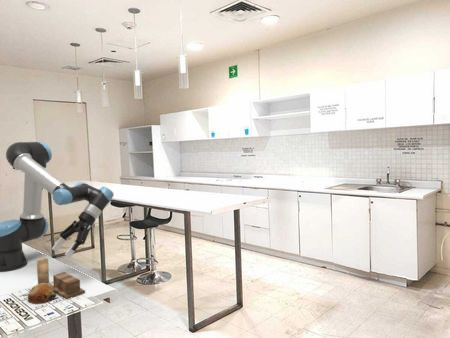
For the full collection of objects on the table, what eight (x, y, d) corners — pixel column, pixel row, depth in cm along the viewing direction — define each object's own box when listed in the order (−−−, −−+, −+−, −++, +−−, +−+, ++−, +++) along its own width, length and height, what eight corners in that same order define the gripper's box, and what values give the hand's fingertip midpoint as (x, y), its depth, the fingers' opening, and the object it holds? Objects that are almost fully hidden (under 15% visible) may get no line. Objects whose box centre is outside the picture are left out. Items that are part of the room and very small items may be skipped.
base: (49, 289, 150) (48, 275, 150) (67, 283, 156) (67, 270, 156) (65, 299, 140) (65, 285, 139) (85, 293, 146) (84, 279, 145)
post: (36, 286, 154) (35, 259, 153) (46, 282, 157) (45, 257, 156) (40, 288, 151) (39, 261, 150) (51, 285, 154) (49, 259, 154)
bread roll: (52, 300, 148) (47, 282, 149) (61, 296, 141) (57, 277, 143) (27, 309, 140) (22, 289, 142) (36, 305, 134) (31, 285, 135)
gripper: (108, 222, 163) (79, 262, 153) (82, 216, 179) (54, 252, 169) (97, 213, 158) (66, 254, 148) (72, 207, 175) (42, 244, 164)
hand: (60, 253), depth 159 cm, fingers open, 13 cm apart
